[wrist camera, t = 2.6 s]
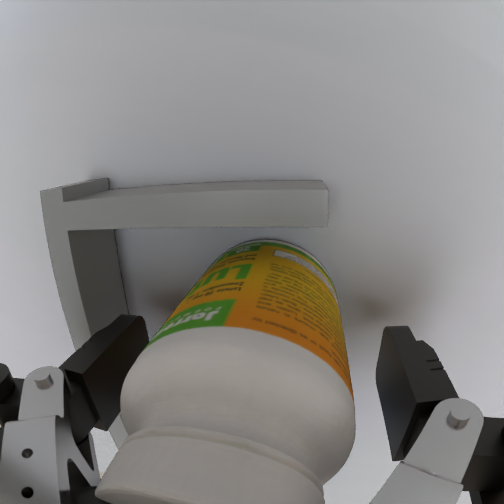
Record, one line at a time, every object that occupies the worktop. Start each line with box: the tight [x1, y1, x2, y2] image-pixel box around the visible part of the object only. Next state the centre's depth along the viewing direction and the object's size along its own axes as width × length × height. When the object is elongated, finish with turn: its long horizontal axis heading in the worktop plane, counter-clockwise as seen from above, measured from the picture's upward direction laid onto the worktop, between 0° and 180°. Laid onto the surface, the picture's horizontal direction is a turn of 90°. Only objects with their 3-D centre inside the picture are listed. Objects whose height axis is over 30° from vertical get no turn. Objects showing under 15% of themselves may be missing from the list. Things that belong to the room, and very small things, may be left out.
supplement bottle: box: [95, 240, 356, 504], centre depth 8 cm, size 5×5×10 cm
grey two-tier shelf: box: [40, 178, 328, 450], centre depth 13 cm, size 19×10×3 cm, turn 2°
